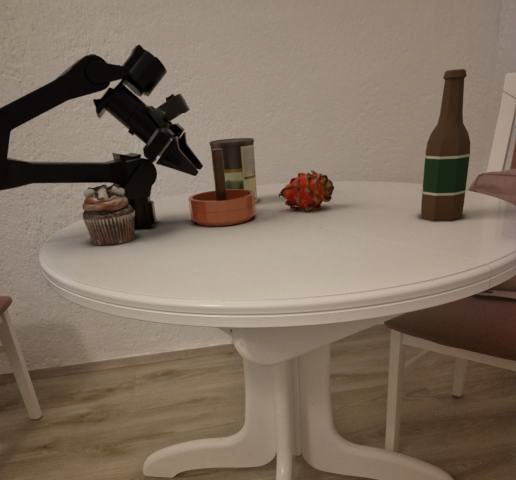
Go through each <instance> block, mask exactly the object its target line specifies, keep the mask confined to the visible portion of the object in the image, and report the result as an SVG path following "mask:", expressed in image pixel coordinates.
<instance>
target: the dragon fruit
mask: <svg viewBox="0 0 516 480" xmlns="http://www.w3.org/2000/svg"><path fill="white" fill-rule="evenodd" d="M310 172H311V173H310ZM310 172H307V173H304V172H298V173H297V176H296V177H292V178H291V179H290V181H289V183H288V184H286V185H285V186H284V187H283V188H282V189H280V190H281V191H280V192H279V193H278V198H281V197H282V198H283V199H284V200H285V201H284V205H285V206H287V207H289V209H290V210H298V211H301V210H304V209H305V212H309V211H310V210H312V209H314V210H319V209H321V207H322V204H323V203H330V202H331V200H332V198H333V197H332V195H333V192H334V190H335V186H334V181H332V180H331V179H330V178H328V175H326V174H323V173H317V172H316V171H314V170H313V169H312V170H310Z"/></svg>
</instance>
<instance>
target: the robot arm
mask: <svg viewBox="0 0 516 480" xmlns="http://www.w3.org/2000/svg"><path fill="white" fill-rule="evenodd" d="M167 74H168V73H167V69H166V67H165V65H164V63H163V62H162V61H161V60H160V59H159V58H158V56H155V55H154V54H152V53H151V52H150V51H148V50H147V49H145V48H144V47H143V46H142V45H141V44H137V45H135V46H134V47H133V48H132V50H131V53H130V54H129V56H128V57H127V58H126V60H125V61H124V62H123V63H122V65H120V64H114V63H108V62H107V61H106V60H105V58H103V57H102V56H99V55H97V54H95V53H90V54H86V55H84V56H82V57H81V58H79V59H76V61H75V62H74V63H72V64H71V65H70V66H68V67H67V68H66V69H65V70H64V71H63V72H62V73H60V75H58V76H56V78H55V79H53V80H52V81H49V82H47V83H46V84H44V85H42V86H40V87H38V88H36V89H34V90H33V91H31V92H29V93H26V94H24V95H22V96H21V97H19V98H17V99H15V100H13V101H10V102H9V103H7V104H5V105H3V106H1V107H0V192H1V191H6V190H11V189H16V188H20V187H25V186H29V185H32V184H105V183H106V184H112V185H113V184H117V185H119V186H120V188H123V189H124V190H125V193H124V195H123V196H125V197H126V198H127V199H128V204H130V205H131V206H132V208H133V210H135V220H134V230H142V229H152V228H153V226H154V225H155V223H156V221H157V213H156V209H155V208H156V207H155V201H154V200H151V194H152V188H153V185H154V184H155V183H156V181H157V179H158V170H157V167H156V166H155V164H156V165H157V166H158V165H159V166H161V167H166V168H169V169H171V170H175V171H178V172H181V173H184V174H187V175H189V176H193V177H197V175H198V174H199V171H200V170H202V168H203V167H204V164H203V163H202V162H201V161H200V159H199V158H198V157H197V154H195V152H194V151H193V150H192V149H191V147H190V146H189V144H188V140H187V132H186V131H185V128H184V127H183V126H182V125H181V124H179V122H178V123H173V122H172V121H173V120H174V119H176V118H177V117H179V116H181V115H182V114H186V113H188V112H189V111H190V110H191V109H190V107H189V105H188V103H187V102H186V100H185V97H183V95H182V93H177V94H174V93H171V94H170V95H169V96H167V97H165V102H163V103H162V104H160V105H159V106H158V107H156V108H155V107H154V105H147V104H146V103H145V102H144V101H143V100H142V99H141V98H139V97H142V96H146V97H150V95H151V94H152V93H153V92H154V90H155V89H156V88H157V86H158V85H159V84H160V82H161V81H162V79H163V78H164V77H165V76H166V75H167ZM116 81H119V82H118V83H117V85H116V86H114V87H110V85H111V83H113V82H116ZM105 90H106V91H105ZM102 91H105V92H104V93H103V94H102V96H101V98H94V99H92V102H93V105H94V106H95V114H96V117H97V118H98V119H102V117H103V116H104V115H105V113H106V112H107V113H108V114H109V115H111V116H112V117H113V118H114V119H115V120H117V122H119V123H120V124H121V125H123V126H124V127H125V128H126V129H127V130H128V131H127V133H129V134H130V135H131V136H136V137H137V138H138V139H139V140H140V141H142V142H143V143H144V144H145V145H144V146H143V148H142V152H143V156H144V157H142V154H140V153H135V152H128V153H127V154H122V153H116V152H112V154H111V155H112V158H113V159H111V160H108V161H27V160H22V159H17V158H14V157H8V155H9V147H10V138H11V132H12V131H13V130H15V129H16V128H18V127H21V126H22V125H24V124H26V123H27V122H30V121H31V120H33V119H36V118H37V117H39V116H41V115H43V114H46V113H47V112H49V111H50V110H52V109H54V108H56V107H58V106H60V105H62V104H64V103H66V102H68V101H70V100H74V99H78V98H81V97H86V96H89V95H92V94H95V93H99V92H102ZM158 157H159V158H158ZM157 158H158V160H157ZM154 163H155V164H154Z"/></svg>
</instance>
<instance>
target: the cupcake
mask: <svg viewBox="0 0 516 480" xmlns="http://www.w3.org/2000/svg"><path fill="white" fill-rule="evenodd" d="M124 193H125V190H124V189H123V188H120V186H119V185H117V184H113V183H112V184H111V185H109V186H107V184H105V183H102V184H101V185H97V186H94V187H87V189H85V190H84V191H83V195H84V198H85V199H84V200H83V203H82V205H81V207H82V210H83V212H82V221H83V223H84V225H85V227H86V229H87V232H88V234H89V236H90V239H91V241H92V243H93V245H97V246H113V245H119V244H124V243H128V242H130V241H132V240H134V239H135V238H136V232H135V230H136V229H134V220H135V210H133V208H132V206H131V205H130V204H128V199H127V198H126V197H125V196H123V195H124Z"/></svg>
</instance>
